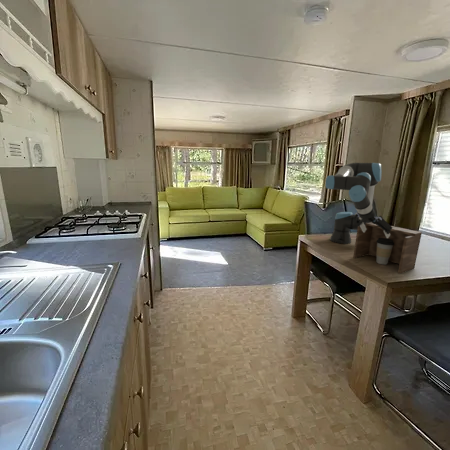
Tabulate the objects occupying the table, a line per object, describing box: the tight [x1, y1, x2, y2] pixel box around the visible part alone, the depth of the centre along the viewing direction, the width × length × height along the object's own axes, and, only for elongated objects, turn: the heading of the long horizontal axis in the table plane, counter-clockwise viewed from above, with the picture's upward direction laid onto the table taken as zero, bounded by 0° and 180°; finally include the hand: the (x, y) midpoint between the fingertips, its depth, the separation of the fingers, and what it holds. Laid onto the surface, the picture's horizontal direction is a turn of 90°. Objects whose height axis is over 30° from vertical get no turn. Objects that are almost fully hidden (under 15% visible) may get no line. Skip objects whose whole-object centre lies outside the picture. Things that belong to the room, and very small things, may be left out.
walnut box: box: [352, 222, 423, 274], centre depth 155 cm, size 28×16×22 cm, turn 30°
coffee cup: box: [375, 238, 394, 265], centre depth 156 cm, size 9×9×15 cm
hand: (376, 233), depth 146 cm, fingers open, 13 cm apart
